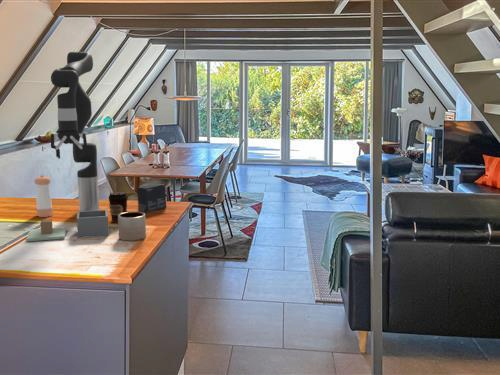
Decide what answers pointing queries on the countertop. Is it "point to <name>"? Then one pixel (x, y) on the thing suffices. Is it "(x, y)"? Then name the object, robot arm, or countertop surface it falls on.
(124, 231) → the planter
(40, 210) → the pepper shaker
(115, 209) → the coffee cup
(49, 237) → the lid
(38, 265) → the countertop surface
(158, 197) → the small box
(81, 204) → the robot arm
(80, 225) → the bin
